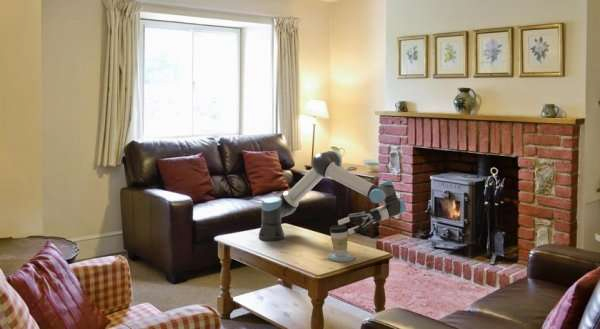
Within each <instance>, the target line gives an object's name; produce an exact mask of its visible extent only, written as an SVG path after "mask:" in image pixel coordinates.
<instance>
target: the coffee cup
mask: <svg viewBox="0 0 600 329" xmlns="http://www.w3.org/2000/svg"><path fill="white" fill-rule="evenodd" d="M348 229H349V228H348V227H347V225H346V224H342V225H339V224H337V225H336V224H335V225H332V226H330V228H329V233H330V240H331V244H332V248H333V251H334V252H333V253H335V256H337V257H343V256H346V255H347V253H348V237H349V234H348Z"/></svg>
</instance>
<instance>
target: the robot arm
mask: <svg viewBox="0 0 600 329" xmlns="http://www.w3.org/2000/svg"><path fill="white" fill-rule="evenodd" d="M341 166H342V157H341V155H340V154H339V153H338V152H337V151H335V150H328V151H324V152H319V153H317V154H315V155H314V156H313V158H312V160H311V167H312V168H311V169H309V170H308V172H306V174H305V175H303V176H302V178H301V179H300V180H298V182H296V183H295V184H294V185H293V187H291V189H289V190H287V191H286V190H285V191H283V193H282V194H281V195H280V196H279V197H277V196H270V197H266V198H263V199H262V200H261V206H260V207H261V226H260V229H259V232H258V238H259V240H261V241H267V242H268V241H269V242H275V241H276V242H277V241H282V240H283V239H285V232H284V228H283V226H282V218H285V217H286V216H290V215H292V214H294V213H295V211H296V210H297V207H298V206H299V205H300V204H299V203H300V201H301V200H302V199H303V198H304V197H305V196H306V195H307V194H308V193H309V192H310V191H311V190H312V189H314V187H315V186H316V185H318V183H320V181H321V180H323V179H324V178H325V179H328V178H330V179H332V180H334V181H336V182H337V183H339V184H342V185H343V186H345V187H347V188H350V189H352V190H354V191H355V192H357V193H359V194H362V195H363V196H365V197H367V198H369V200H370V201H371V203H374V204H380V203H381V204H382V203H383V202H384V205H381V206H378V207H375V208H372V209H370V210H369V212H368V213H366V211H362V212H361V211H360V212H356V213H355V212H354V213H349V214H347V217H344V218H341V219H338V220H337V225H345V224H347V223H350V222H351V221H360V222H362V223H361V224H359V225H356V226H354V227H351V228H348V231H347V235H351V234H355V233H357V232H359V231H361V232H363V233H365V232H366V231H367V230H368V229H370V228H371V227H373V226H374V225H376V224H378V223H379V222H381V221H385V220H387V219H390V218H393V217H395V216H396V217H397V216H399V215H401V214H403V213H405V212H406V209H407V208H406V207H407V206H406V203H405V202H404V200H403V199H401V198H400V199H399V198H398V195H397V193H396V189H395V185H394V183H393V181H392V180H391V179H388V180H385V181H382V182H380V183H378V185H376V184H374V183H372V182H370V181H368V180H366V179H364V178H362V177H360V176H358V175H356V174H354V173H352V172H350V171H348V170H347V169H345V168H342V167H341Z"/></svg>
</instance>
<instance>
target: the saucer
mask: <svg viewBox="0 0 600 329" xmlns="http://www.w3.org/2000/svg"><path fill="white" fill-rule="evenodd" d="M327 260H329V261H331V262H335V263H337V262H338V263H349V262H352V261H354V260H355V255H354V254H352V253H349V252H347V255H346V256H343V257H337V256H335V253H334V252H330V253H327Z"/></svg>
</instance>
